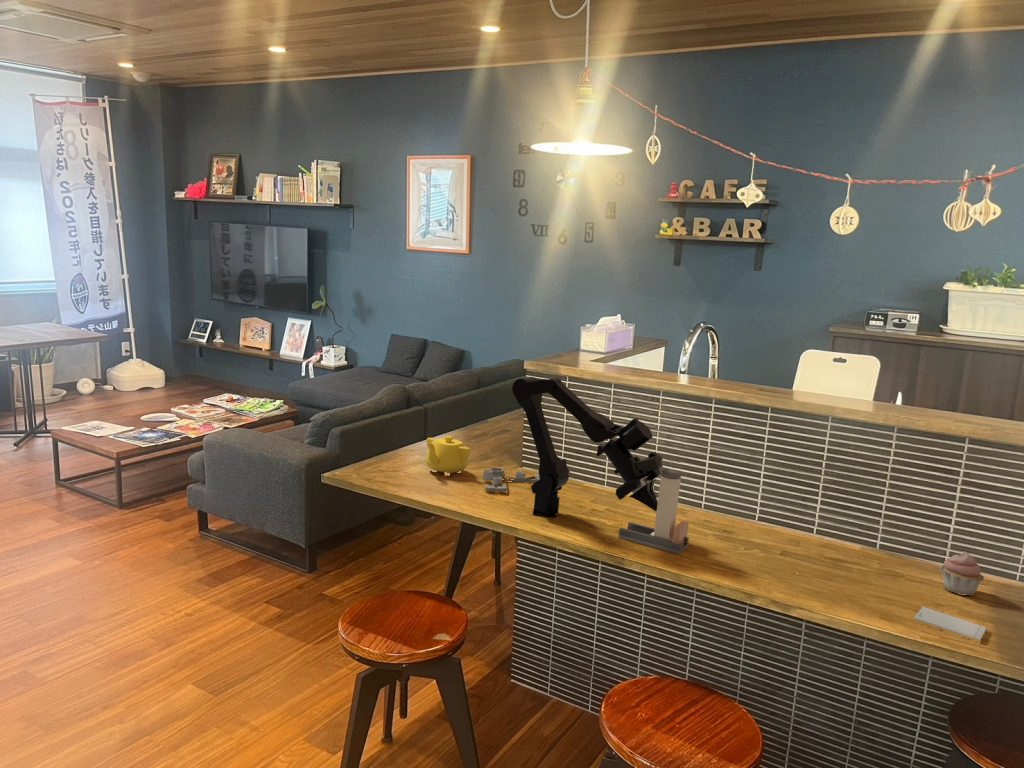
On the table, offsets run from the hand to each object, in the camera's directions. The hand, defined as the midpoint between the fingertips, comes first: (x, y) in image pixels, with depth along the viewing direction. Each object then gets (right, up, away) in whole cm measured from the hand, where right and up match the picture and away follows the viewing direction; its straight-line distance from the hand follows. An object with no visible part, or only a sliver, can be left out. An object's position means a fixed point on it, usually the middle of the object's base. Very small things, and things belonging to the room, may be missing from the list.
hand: (658, 510), depth 194 cm
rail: (-1, -9, +2) cm, 9 cm away
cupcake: (+69, -17, -14) cm, 73 cm away
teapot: (-60, +4, +48) cm, 77 cm away
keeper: (+1, -8, 0) cm, 8 cm away
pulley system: (-39, +1, +44) cm, 59 cm away
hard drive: (+55, -20, -34) cm, 68 cm away
